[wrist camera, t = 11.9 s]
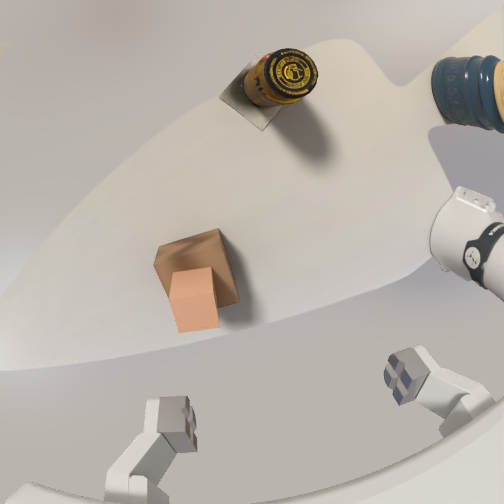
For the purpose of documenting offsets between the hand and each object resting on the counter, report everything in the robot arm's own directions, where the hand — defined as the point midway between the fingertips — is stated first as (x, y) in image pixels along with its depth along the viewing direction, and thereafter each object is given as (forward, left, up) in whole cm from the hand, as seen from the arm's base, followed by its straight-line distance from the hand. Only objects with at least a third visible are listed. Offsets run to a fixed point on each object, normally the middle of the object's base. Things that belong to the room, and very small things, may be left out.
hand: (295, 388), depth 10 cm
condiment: (-6, -13, -32) cm, 35 cm away
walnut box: (+5, +11, -32) cm, 34 cm away
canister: (-42, -17, -32) cm, 55 cm away
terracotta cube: (+6, +11, -26) cm, 29 cm away
